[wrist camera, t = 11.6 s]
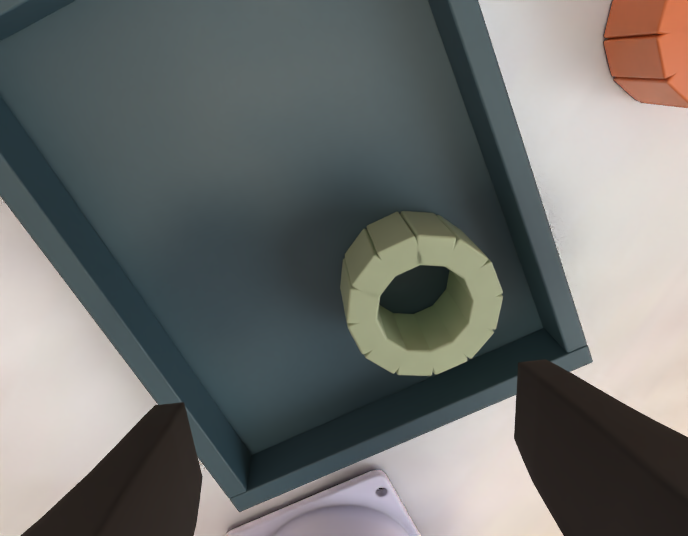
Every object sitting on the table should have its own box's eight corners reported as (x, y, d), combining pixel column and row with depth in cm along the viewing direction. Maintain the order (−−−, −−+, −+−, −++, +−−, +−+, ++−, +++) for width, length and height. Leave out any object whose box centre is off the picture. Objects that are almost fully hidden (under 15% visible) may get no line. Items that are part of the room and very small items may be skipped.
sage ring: (492, 302, 20) (520, 339, 17) (373, 355, 20) (384, 398, 18) (446, 187, 18) (471, 208, 15) (318, 248, 18) (321, 278, 16)
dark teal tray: (561, 329, 21) (593, 362, 19) (245, 466, 22) (239, 513, 20) (383, -199, 14) (399, -251, 12) (-58, 42, 15) (-120, 38, 13)
